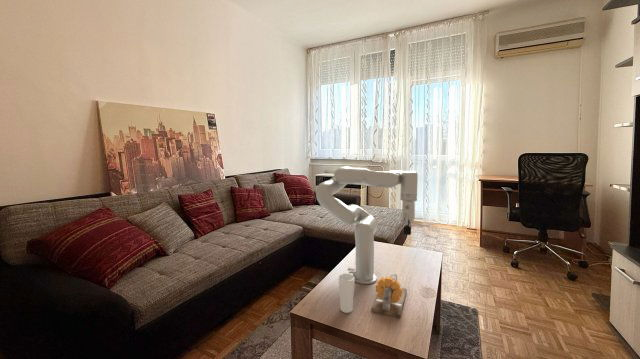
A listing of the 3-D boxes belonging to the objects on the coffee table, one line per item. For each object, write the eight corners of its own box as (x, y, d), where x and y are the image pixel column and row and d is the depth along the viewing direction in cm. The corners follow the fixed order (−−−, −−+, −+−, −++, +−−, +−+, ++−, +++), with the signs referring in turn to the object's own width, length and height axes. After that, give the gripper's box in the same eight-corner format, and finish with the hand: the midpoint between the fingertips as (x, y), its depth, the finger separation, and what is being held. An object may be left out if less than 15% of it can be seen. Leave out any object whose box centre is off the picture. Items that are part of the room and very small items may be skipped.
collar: (375, 300, 123) (375, 276, 122) (376, 297, 125) (376, 274, 124) (400, 305, 119) (401, 281, 117) (401, 303, 121) (402, 279, 119)
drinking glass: (344, 303, 124) (344, 271, 122) (357, 309, 120) (357, 276, 118) (335, 310, 119) (335, 277, 117) (348, 316, 115) (348, 282, 113)
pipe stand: (371, 311, 118) (371, 291, 117) (381, 286, 138) (381, 269, 137) (400, 318, 114) (400, 297, 112) (406, 291, 134) (407, 273, 132)
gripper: (415, 200, 124) (414, 240, 127) (418, 194, 138) (416, 230, 140) (398, 199, 127) (397, 238, 130) (402, 193, 141) (401, 228, 143)
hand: (407, 234), depth 135 cm, fingers closed
